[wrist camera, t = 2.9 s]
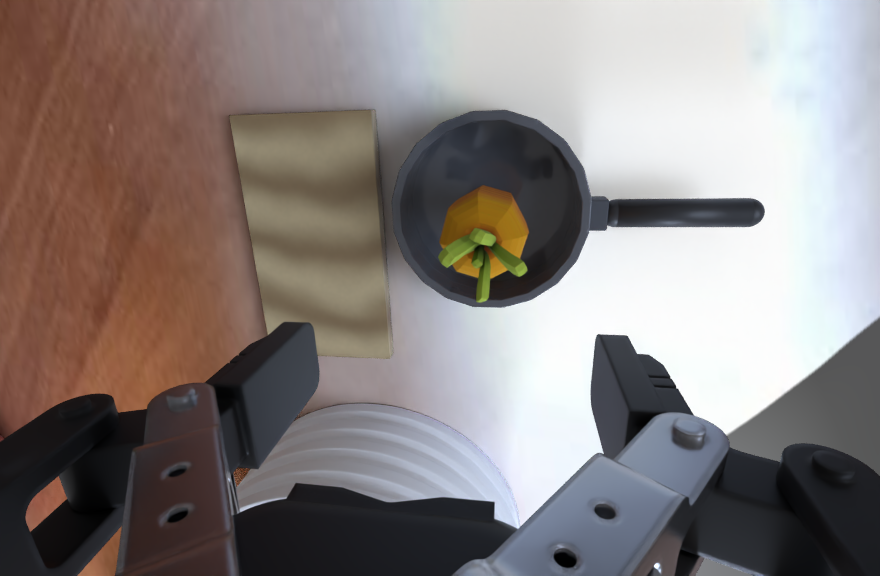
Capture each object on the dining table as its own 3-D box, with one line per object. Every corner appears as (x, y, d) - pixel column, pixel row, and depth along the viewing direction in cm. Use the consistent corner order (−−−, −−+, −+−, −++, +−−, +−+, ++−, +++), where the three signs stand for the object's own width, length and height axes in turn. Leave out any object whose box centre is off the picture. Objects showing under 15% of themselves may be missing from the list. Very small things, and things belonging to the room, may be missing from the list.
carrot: (538, 199, 34) (556, 256, 20) (495, 249, 36) (485, 333, 22) (486, 157, 34) (467, 184, 20) (445, 210, 35) (401, 269, 21)
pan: (401, 114, 34) (385, 114, 30) (588, 108, 32) (599, 106, 28) (410, 284, 38) (398, 305, 34) (575, 288, 36) (583, 310, 32)
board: (237, 115, 35) (228, 115, 34) (375, 109, 34) (371, 109, 33) (277, 347, 42) (270, 353, 41) (393, 352, 41) (390, 359, 40)
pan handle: (581, 225, 32) (584, 231, 30) (583, 196, 31) (587, 200, 30) (752, 225, 30) (766, 231, 29) (758, 194, 30) (773, 199, 28)
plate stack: (468, 374, 40) (453, 466, 30) (552, 601, 48) (563, 739, 37) (209, 434, 47) (121, 526, 36) (319, 624, 55) (273, 746, 44)
